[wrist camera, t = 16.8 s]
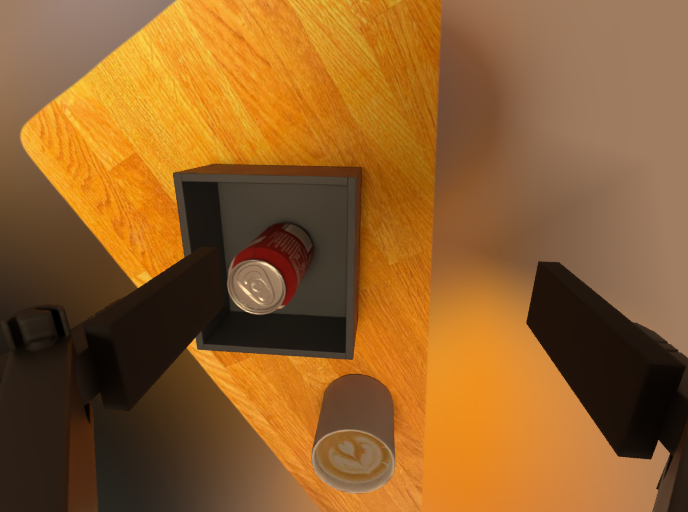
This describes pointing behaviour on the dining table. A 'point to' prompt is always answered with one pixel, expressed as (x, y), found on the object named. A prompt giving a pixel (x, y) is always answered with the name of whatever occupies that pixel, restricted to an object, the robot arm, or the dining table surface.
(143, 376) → the robot arm
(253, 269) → the soda can
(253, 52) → the dining table surface
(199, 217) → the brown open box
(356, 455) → the coffee mug
